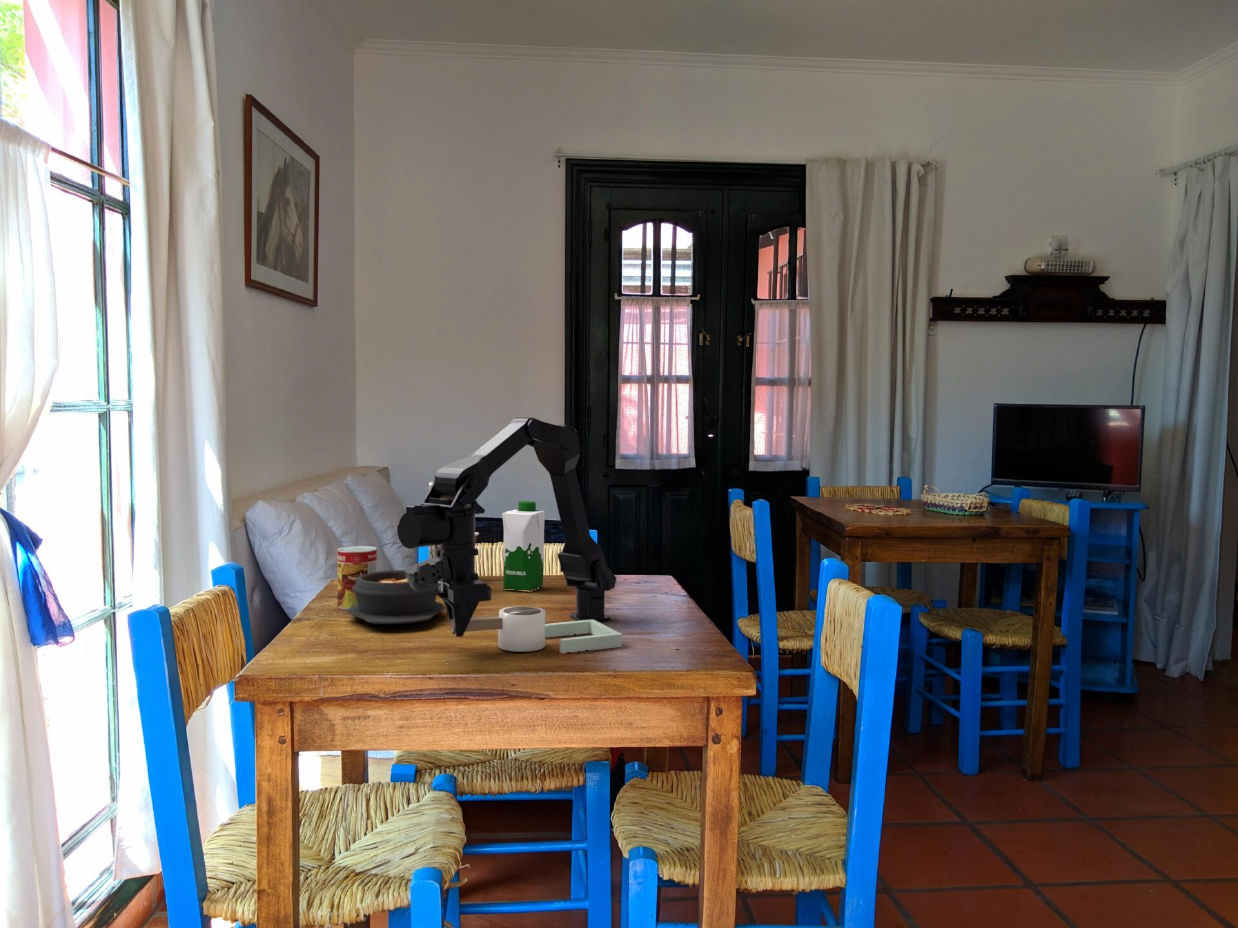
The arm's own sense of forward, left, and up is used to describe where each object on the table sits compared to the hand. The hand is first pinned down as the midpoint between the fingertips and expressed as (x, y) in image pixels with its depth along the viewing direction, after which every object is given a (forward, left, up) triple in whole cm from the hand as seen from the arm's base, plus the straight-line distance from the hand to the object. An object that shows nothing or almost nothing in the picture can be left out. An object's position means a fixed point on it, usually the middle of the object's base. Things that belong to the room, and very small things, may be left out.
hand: (457, 635), depth 149 cm
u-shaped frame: (0, +21, -3) cm, 22 cm away
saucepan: (0, +7, -3) cm, 8 cm away
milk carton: (-50, +29, -4) cm, 58 cm away
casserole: (-31, -4, -4) cm, 31 cm away
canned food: (-46, -9, -4) cm, 47 cm away
